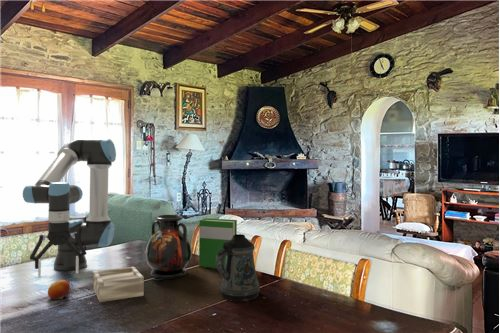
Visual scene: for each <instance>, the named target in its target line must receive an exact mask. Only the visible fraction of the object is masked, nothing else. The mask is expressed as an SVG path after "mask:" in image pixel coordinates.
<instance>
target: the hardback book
mask: <svg viewBox="0 0 500 333" xmlns="http://www.w3.org/2000/svg"><path fill="white" fill-rule="evenodd" d="M237 222H238V220H237V219H230V218H227V219H226V218H225V219H224V218H210V217H204V218H201V219H199V228H198V230H199V233H198V234H199V235H198V236H199V242H198V246H199V247H198V267H199V266H205V267H204V268H206V267H214V268H213V269H217V267H216V257H217V254H218V252H219V251H220V250H221V249H223V243H224V242H227V241H230V240H231V239H232V238H233V236H234V235H236V234H237V233H238V232H237V229H238V227H237V226H238V223H237ZM225 260H226V256H225V258H224V260H223V266H225Z"/></svg>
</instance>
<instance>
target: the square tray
mask: <svg viewBox="0 0 500 333" xmlns="http://www.w3.org/2000/svg"><path fill="white" fill-rule="evenodd" d="M92 273H93V282H92V284H93V288H92V289H93V291H94V293H95V295H96V297H97V299H98V301H99V303H103V302H105V303H106V302H111V301H116V300H117V301H118V300H124V299H128V298H129V299H130V298H136V297H143V296H145V295H144V292H145V288H144V287H145V285H144V283H145V282H144V280H145V279H144V278H145V277H144V275H142V273H140V271H139V270H138V269H137V268H136V267H135V266H129V267H128V266H127V267H121V268H120V267H119V268H111V269H104V270H103V269H102V270H95V271H94V270H93V272H92Z"/></svg>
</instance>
